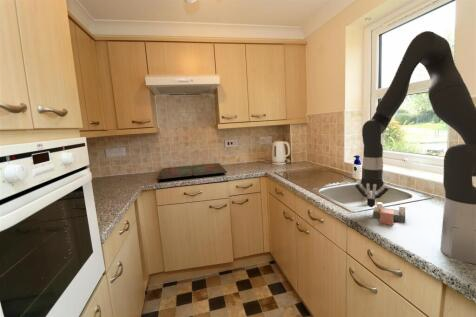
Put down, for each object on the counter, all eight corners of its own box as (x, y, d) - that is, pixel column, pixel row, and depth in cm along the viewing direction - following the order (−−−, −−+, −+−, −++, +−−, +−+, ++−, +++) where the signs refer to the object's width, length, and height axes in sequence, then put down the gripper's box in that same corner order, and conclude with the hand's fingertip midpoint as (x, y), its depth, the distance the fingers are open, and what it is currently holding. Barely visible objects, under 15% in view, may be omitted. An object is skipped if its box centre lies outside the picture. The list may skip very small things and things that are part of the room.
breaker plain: (405, 213, 94) (405, 207, 94) (399, 212, 95) (399, 206, 95) (404, 211, 96) (405, 205, 95) (399, 210, 97) (399, 204, 97)
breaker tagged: (382, 209, 99) (382, 204, 98) (376, 209, 100) (376, 203, 99) (382, 208, 100) (382, 202, 100) (376, 207, 101) (377, 202, 101)
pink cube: (393, 224, 91) (393, 214, 90) (379, 222, 93) (380, 212, 93) (393, 220, 94) (393, 210, 94) (380, 218, 97) (381, 208, 96)
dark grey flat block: (404, 222, 93) (405, 214, 92) (373, 217, 99) (373, 209, 98) (404, 216, 97) (405, 209, 97) (374, 212, 104) (374, 205, 103)
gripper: (353, 167, 100) (352, 206, 102) (390, 170, 92) (388, 212, 95) (356, 164, 106) (355, 201, 108) (391, 166, 98) (389, 206, 101)
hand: (371, 206), depth 102 cm, fingers closed
